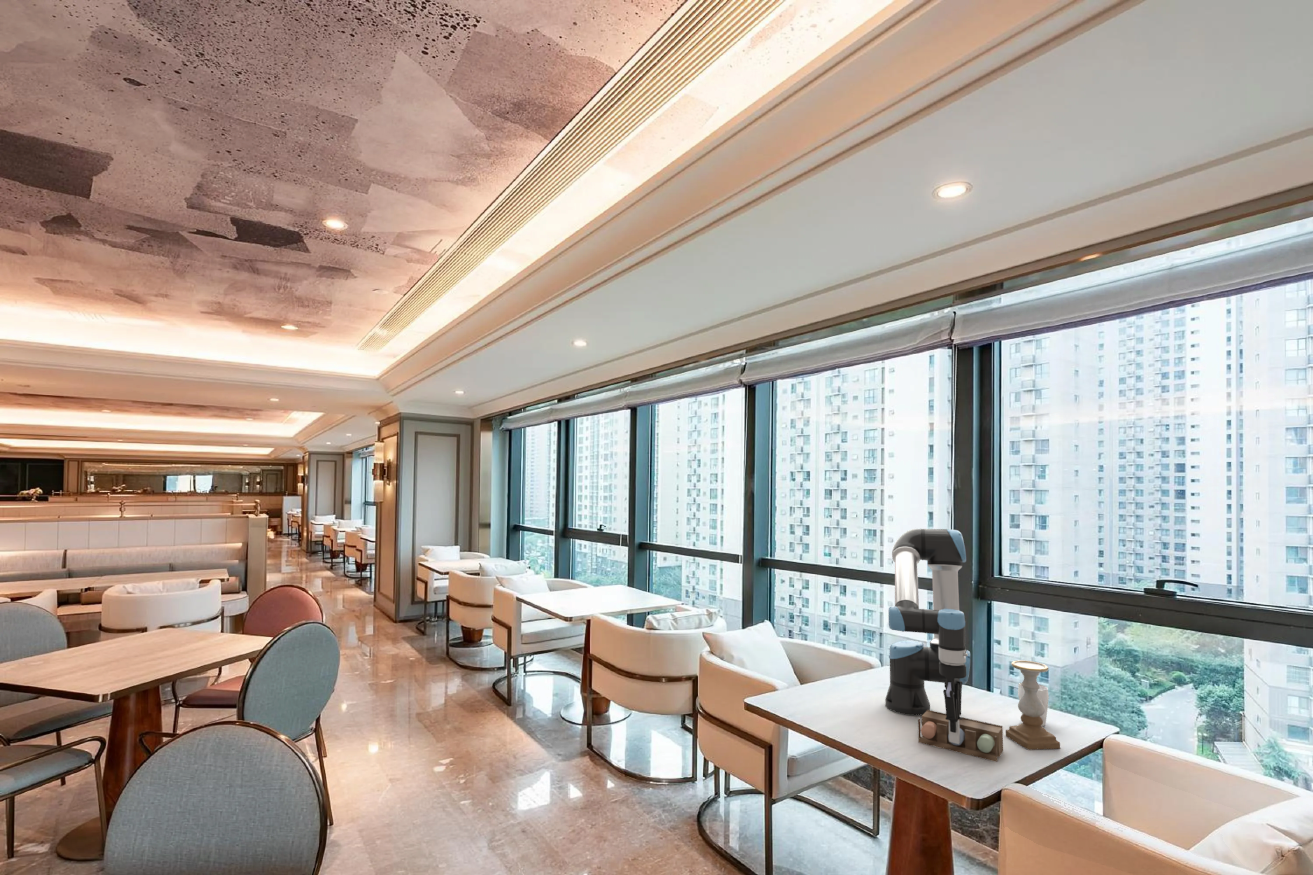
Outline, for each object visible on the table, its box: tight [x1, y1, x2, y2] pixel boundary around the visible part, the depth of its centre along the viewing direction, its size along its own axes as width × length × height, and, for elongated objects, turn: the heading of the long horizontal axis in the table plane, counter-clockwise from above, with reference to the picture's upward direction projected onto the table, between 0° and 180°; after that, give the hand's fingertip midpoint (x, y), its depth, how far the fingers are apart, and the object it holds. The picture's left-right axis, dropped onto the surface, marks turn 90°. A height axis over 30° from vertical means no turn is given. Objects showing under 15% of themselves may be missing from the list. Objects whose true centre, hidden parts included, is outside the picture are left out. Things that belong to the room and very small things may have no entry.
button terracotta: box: [920, 721, 937, 739], centre depth 198 cm, size 4×4×4 cm
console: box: [917, 709, 1004, 763], centre depth 196 cm, size 22×10×7 cm, turn 52°
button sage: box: [977, 734, 995, 753], centre depth 188 cm, size 4×4×4 cm
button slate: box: [948, 729, 965, 745], centre depth 193 cm, size 4×4×4 cm
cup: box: [1017, 682, 1050, 727], centre depth 216 cm, size 9×9×12 cm
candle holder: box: [1005, 659, 1061, 751], centre depth 200 cm, size 11×11×24 cm
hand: (954, 741), depth 191 cm, fingers closed
